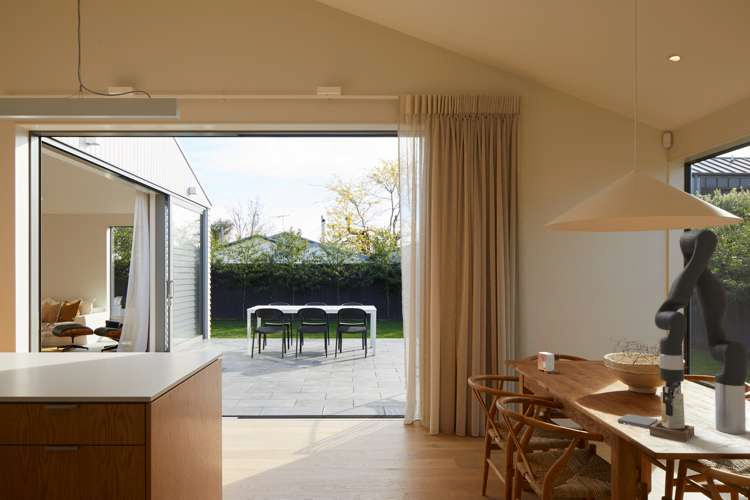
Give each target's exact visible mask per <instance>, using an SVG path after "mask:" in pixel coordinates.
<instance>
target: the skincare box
mask: <svg viewBox="0 0 750 500" xmlns="http://www.w3.org/2000/svg"><path fill="white" fill-rule="evenodd" d="M659 393H660V411H661V413H660V414H661V421H662V426H664V427H666V428H668V429H676V428H685V425H686V424H685V423H686V421H685V406H684V404H685V402H684V394H683V393H682V392H681V393H679V392H676V398H675V400H674V401H673V416H668V415H666V407H665V405H666V404H664V403H663V391H660V392H659ZM671 396H673V395H671ZM667 400H668V401H669V398H667Z"/></svg>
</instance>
